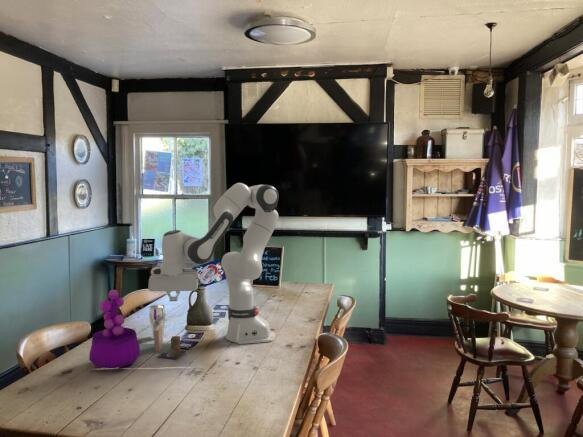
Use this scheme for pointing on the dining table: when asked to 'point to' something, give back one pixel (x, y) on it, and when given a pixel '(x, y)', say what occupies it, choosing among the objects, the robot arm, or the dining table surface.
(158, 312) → the beer glass
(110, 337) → the decorative plant
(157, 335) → the tile
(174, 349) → the walnut block
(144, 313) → the dining table surface
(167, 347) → the mat
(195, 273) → the robot arm
